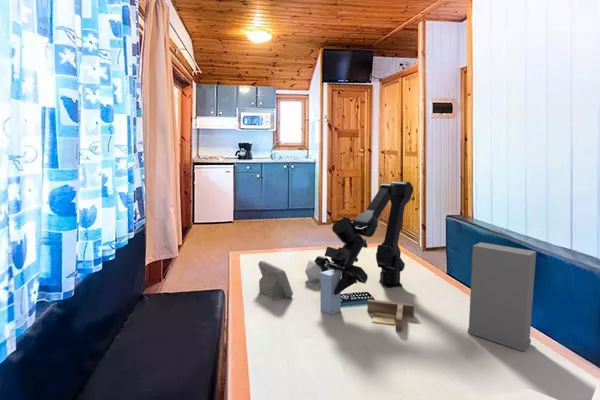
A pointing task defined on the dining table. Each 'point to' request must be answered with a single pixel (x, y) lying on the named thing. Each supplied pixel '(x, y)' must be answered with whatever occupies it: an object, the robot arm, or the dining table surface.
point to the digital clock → (274, 281)
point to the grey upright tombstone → (502, 294)
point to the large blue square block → (330, 291)
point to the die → (313, 272)
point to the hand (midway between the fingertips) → (327, 291)
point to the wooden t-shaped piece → (390, 312)
